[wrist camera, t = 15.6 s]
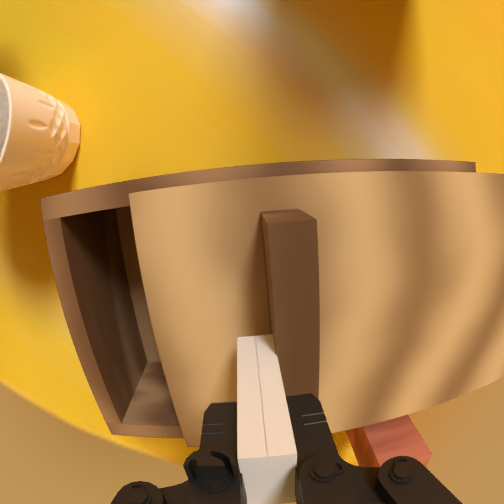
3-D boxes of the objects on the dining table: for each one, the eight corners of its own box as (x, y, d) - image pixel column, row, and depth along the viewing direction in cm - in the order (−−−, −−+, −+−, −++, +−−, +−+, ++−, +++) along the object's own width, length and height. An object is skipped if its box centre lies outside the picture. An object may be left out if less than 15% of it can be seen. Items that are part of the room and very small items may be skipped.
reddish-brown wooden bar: (338, 375, 27) (382, 470, 16) (377, 368, 27) (431, 453, 16) (335, 405, 28) (371, 497, 17) (372, 398, 28) (417, 482, 17)
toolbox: (141, 366, 26) (111, 434, 18) (104, 187, 22) (39, 198, 14) (398, 338, 27) (446, 393, 18) (404, 161, 23) (475, 162, 14)
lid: (194, 401, 21) (181, 485, 13) (154, 188, 17) (98, 200, 10) (491, 344, 21) (542, 387, 14) (511, 173, 17) (584, 183, 10)
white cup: (87, 182, 22) (9, 192, 13) (17, 189, 22) (-62, 204, 12) (90, 88, 20) (20, 53, 11) (19, 105, 20) (-56, 89, 10)
